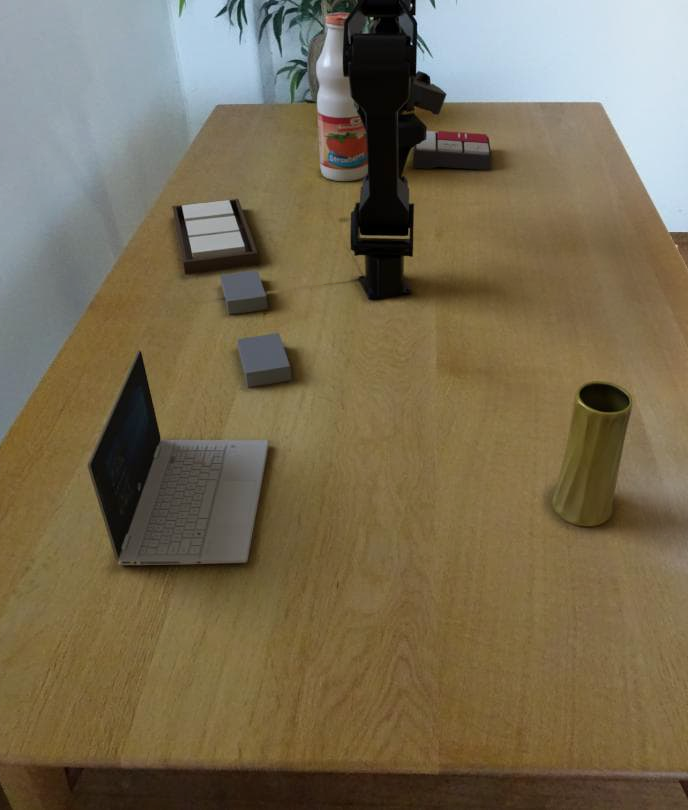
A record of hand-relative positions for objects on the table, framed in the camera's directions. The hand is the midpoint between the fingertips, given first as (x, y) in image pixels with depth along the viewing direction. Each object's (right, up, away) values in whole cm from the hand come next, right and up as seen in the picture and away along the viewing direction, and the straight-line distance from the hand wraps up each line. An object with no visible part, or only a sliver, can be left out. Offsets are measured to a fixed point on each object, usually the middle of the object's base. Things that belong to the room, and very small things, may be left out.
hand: (388, 169), depth 125 cm
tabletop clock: (-9, +26, +54) cm, 61 cm away
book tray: (-28, -10, +6) cm, 31 cm away
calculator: (+12, +12, +36) cm, 40 cm away
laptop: (-19, -47, -41) cm, 65 cm away
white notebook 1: (-30, -5, +11) cm, 33 cm away
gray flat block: (-16, -32, -22) cm, 41 cm away
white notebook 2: (-29, -9, +6) cm, 31 cm away
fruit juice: (-9, +8, +30) cm, 32 cm away
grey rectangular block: (-21, -21, -8) cm, 31 cm away
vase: (+21, -47, -41) cm, 66 cm away
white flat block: (-27, -13, +2) cm, 30 cm away
